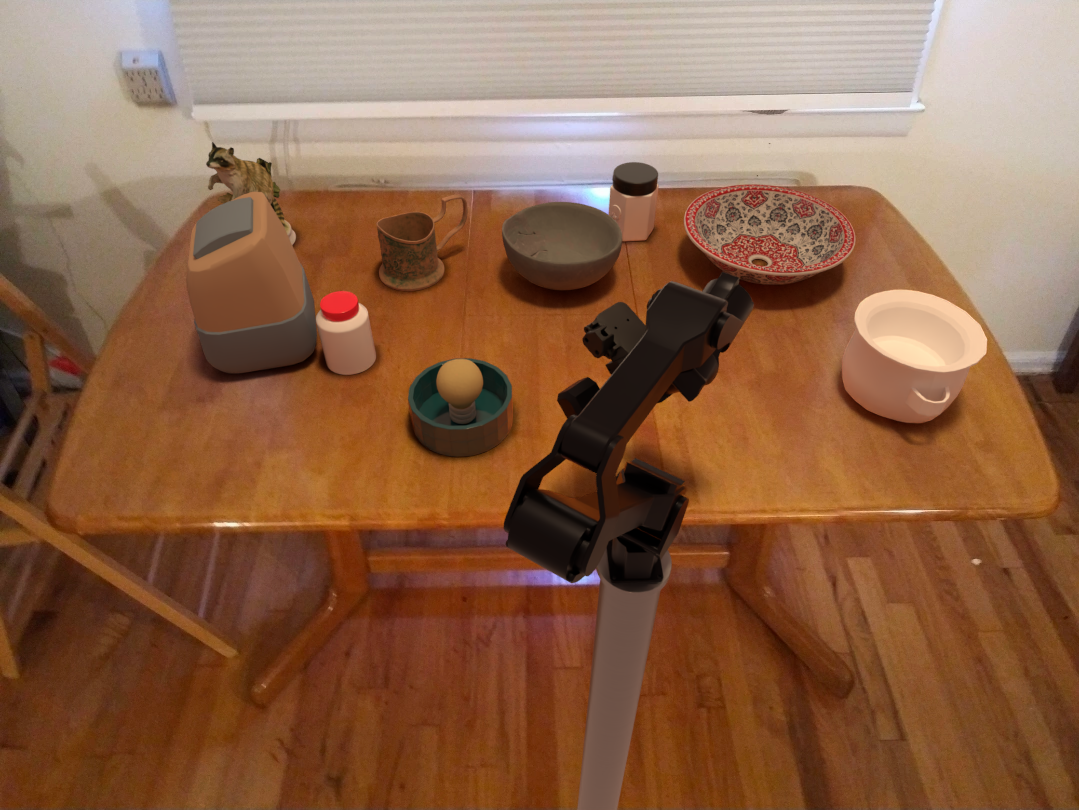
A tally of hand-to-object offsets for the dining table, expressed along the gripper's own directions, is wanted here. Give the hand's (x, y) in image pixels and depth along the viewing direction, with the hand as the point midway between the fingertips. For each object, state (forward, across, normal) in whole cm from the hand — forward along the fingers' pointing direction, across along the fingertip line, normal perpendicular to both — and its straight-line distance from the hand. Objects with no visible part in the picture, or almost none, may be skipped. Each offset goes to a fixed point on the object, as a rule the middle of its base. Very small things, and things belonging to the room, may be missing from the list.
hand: (590, 391), depth 97 cm
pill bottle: (+38, +11, -19) cm, 44 cm away
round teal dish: (+22, +7, -3) cm, 24 cm away
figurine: (+66, +4, -47) cm, 81 cm away
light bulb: (+22, +7, -3) cm, 23 cm away
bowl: (+33, -29, -14) cm, 46 cm away
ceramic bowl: (+18, -57, +2) cm, 60 cm away
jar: (+35, -49, -15) cm, 62 cm away
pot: (-6, -44, +25) cm, 51 cm away
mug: (+47, -14, -27) cm, 56 cm away
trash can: (+47, +18, -28) cm, 58 cm away
